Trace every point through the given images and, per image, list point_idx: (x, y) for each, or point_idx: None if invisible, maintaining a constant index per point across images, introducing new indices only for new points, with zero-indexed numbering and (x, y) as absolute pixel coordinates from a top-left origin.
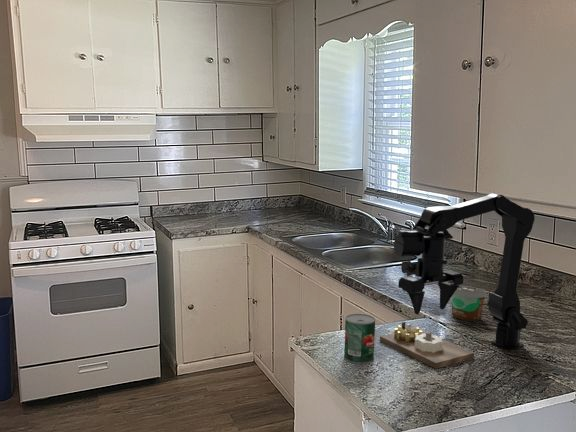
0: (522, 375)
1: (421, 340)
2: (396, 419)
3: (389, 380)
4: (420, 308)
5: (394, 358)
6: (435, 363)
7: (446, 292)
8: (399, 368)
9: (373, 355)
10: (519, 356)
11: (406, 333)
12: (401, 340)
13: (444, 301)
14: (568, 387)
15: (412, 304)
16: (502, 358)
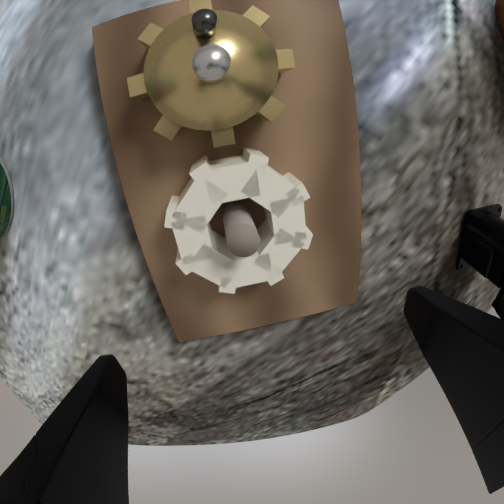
0: (357, 378)
1: (185, 246)
2: None
3: (38, 342)
4: (124, 436)
5: (74, 223)
6: (178, 338)
7: (489, 430)
8: (70, 298)
9: (2, 229)
10: None
11: (165, 117)
12: None
13: (442, 369)
14: (372, 407)
15: (52, 416)
16: None
